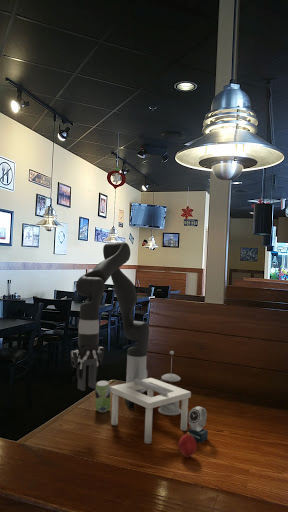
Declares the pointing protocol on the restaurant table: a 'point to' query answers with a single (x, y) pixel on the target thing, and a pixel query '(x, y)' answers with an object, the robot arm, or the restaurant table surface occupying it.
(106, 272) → the robot arm
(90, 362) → the grey u-shaped bracket
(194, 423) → the watch
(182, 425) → the square frame stand
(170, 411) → the french press
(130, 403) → the mobile phone
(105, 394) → the beverage can
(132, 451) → the restaurant table surface
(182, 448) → the onion
